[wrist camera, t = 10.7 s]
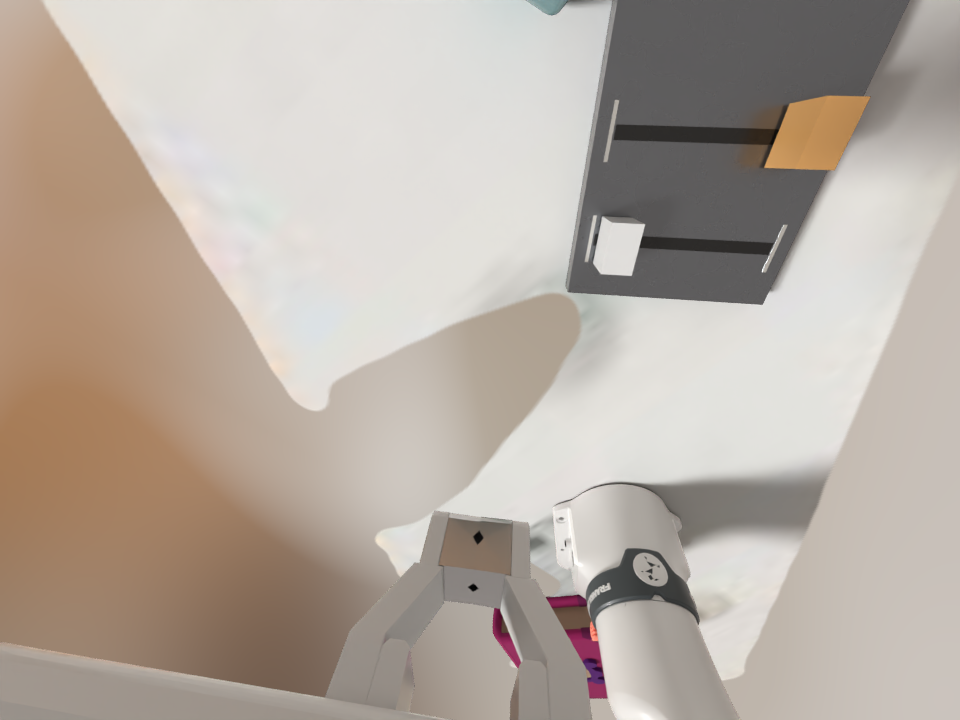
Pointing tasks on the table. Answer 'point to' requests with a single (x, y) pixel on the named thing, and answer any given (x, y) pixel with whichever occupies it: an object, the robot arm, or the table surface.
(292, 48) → the table surface
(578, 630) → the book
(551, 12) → the flower pot
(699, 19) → the console
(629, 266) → the block
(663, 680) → the robot arm
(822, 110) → the fader
